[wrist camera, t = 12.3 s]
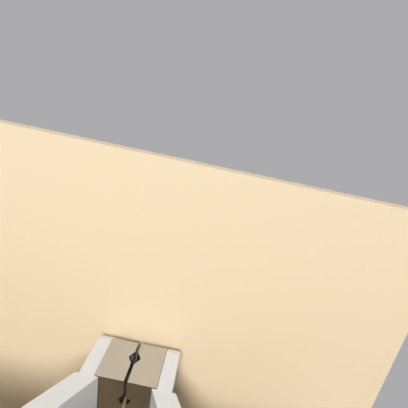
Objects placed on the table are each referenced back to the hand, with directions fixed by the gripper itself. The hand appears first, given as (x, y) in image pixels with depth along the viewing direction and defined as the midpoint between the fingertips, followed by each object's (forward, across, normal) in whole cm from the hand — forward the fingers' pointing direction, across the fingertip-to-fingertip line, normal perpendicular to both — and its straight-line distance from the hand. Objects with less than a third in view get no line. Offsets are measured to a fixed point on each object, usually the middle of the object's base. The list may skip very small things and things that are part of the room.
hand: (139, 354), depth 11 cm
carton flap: (0, -1, +1) cm, 2 cm away
